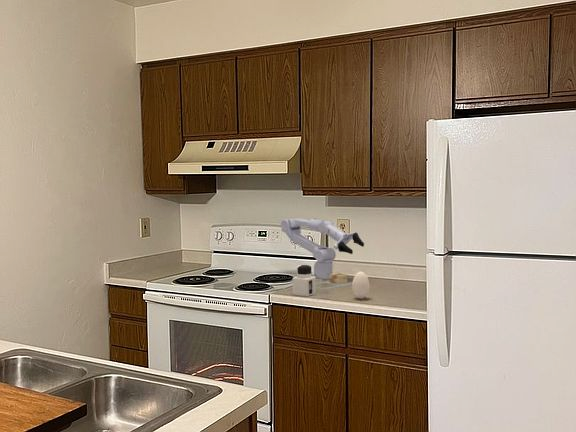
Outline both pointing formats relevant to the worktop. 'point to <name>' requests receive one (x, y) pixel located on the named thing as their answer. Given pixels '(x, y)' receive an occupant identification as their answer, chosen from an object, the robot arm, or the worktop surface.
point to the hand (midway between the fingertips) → (357, 248)
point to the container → (304, 281)
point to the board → (334, 284)
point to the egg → (360, 285)
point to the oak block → (338, 278)
